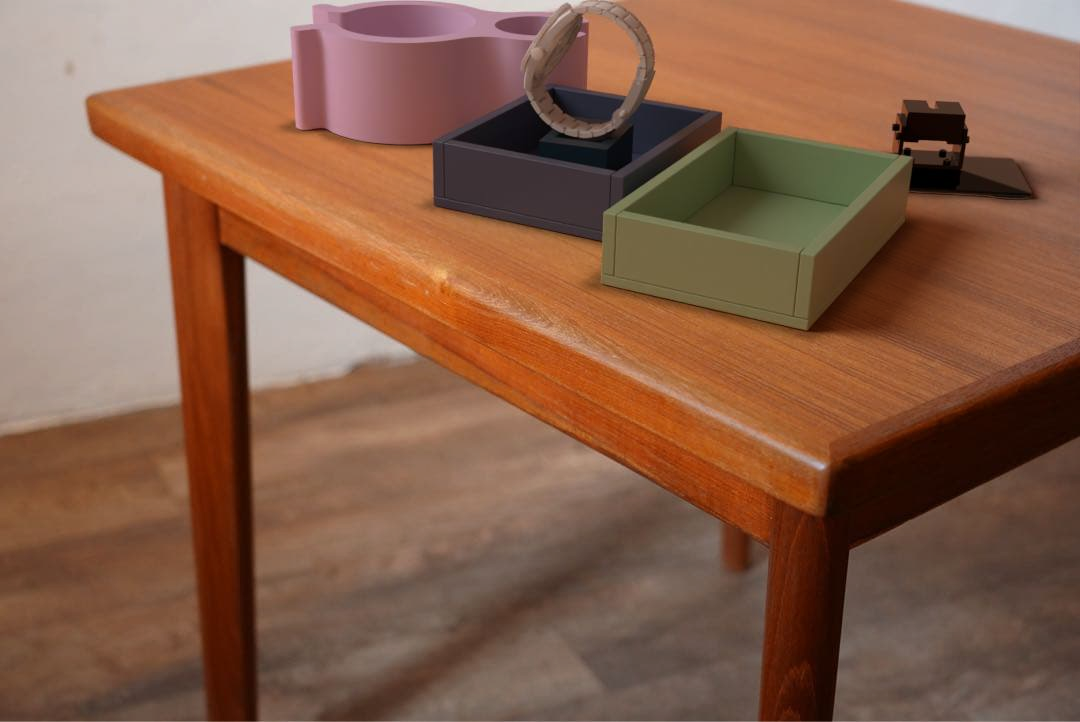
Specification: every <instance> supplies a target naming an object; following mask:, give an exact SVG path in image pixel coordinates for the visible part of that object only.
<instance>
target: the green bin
mask: <svg viewBox="0 0 1080 722" xmlns="http://www.w3.org/2000/svg"><path fill="white" fill-rule="evenodd" d="M880 151H881V150H880ZM880 151H879V150H875V149H874V150H873V149H868V148H861V147H857V146H856V147H855V146H851V145H850V146H849V145H844V144H838V143H834V142H833V143H832V142H826V141H820V140H813V139H809V138H803V137H797V136H790V135H785V134H779V133H773V132H769V131H768V132H767V131H761V130H756V129H750V128H743V127H737V126H732V125H728V126H726V127H725V128H724V129H721V132H719V133H718V134H717V135H715V136H714V137H712V138H711V139H709V140H708V141H706V142H705V143H704V144H702V145H701V146H699V147H698V148H696V149H695V150H693V151H692V152H690V153H689V154H688V155H686V156H685V157H683V158H682V159H680V160H679V161H677V162H676V163H675V164H673V165H672V166H670V167H669V168H667V169H666V170H664V171H663V172H661V173H660V174H659V175H657V176H656V177H654V178H653V179H651V180H650V181H648V182H647V183H645V184H644V185H643V186H641V187H640V188H638V189H637V190H635V191H634V192H632V193H631V194H630V195H628V196H627V197H625V198H624V199H622V200H621V201H619V202H618V203H616V204H615V205H614V206H612V207H611V208H609V209H608V210H606V211H605V212H604V213H603V238H602V241H601V264H600V265H601V266H600V267H601V269H600V273H601V274H600V284H601V285H605V286H608V287H612V288H613V287H614V288H619V289H622V290H627V291H632V292H635V293H640V294H644V295H648V296H654V297H658V298H663V299H666V300H671V301H675V302H679V303H684V304H689V305H692V306H696V307H701V308H706V309H710V310H714V311H719V312H723V313H727V314H732V315H737V316H740V317H745V318H749V319H754V320H758V321H762V322H766V323H772V324H775V325H780V326H783V327H784V326H785V327H789V328H792V329H793V328H794V329H797V330H801V331H808V330H809V329H811V327H812V326H813V325H814V324H815V323H816V322H817V320H818V319H819V318H820V317H821V316H822V315H823V314H824V313H825V312H826V311H827V309H828V308H829V307H830V306H831V305H832V304H833V302H835V301H836V300H837V298H838V297H839V296H840V295H841V294H842V293H843V291H845V290H846V288H847V287H848V286H849V285H850V284H851V283H852V281H854V279H855V278H856V277H858V275H859V274H860V272H862V270H863V269H864V268H865V267H866V266H867V265H868V264H869V262H870V261H871V260H872V259H873V258H874V257H875V256H876V255H877V254H878V252H879V251H880V250H881V249H882V248H883V247H884V246H885V245H886V243H887V242H888V241H889V240H890V239H891V238H892V237H893V236H894V235H895V233H896V232H897V231H898V230H899V229H900V228H901V227H902V226H903V224H904V223H905V222H906V212H907V207H908V199H909V193H910V192H909V186H910V179H911V172H912V164H913V157H909V156H903V155H897V154H891V153H886V152H887V151H883V152H880Z"/></svg>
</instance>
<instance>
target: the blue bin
mask: <svg viewBox="0 0 1080 722" xmlns="http://www.w3.org/2000/svg"><path fill="white" fill-rule="evenodd" d="M545 86H546V90H545V91H547V92H548V93H549V95H550V97H551V98H552V100H553V103H552V104H556V105H557V106H558V107H559V108H560V109H561V110H562V111H563V114H564V113H565V114H567V115H569V116H572V117H580V118H588V119H597V120H605V121H611V119H612V118H613V117H612V115H613V113H614V112H615V111H616V110H617V109H619V108H620V107H621V106H622V104H623V102H624V101H625V99H626V97H627V95H622V94H616V93H611V92H606V91H605V92H603V91H600V90H599V91H598V90H592V89H588V88H587V89H581V88H575V87H569V86H563V85H557V84H551V83H548V84H546V85H545ZM541 100H542V99H541ZM541 100H540V101H541ZM540 101H539V102H540ZM551 112H552V111H551ZM551 112H550V113H551ZM540 114H541V113H540ZM540 114H537V112H536V111H535V110H534V108H533V106H532V105H531V101H530V100H529V98H528V96H527V94H526V95H524V96H522V97H520V98H518V99H516V100H514V101H512V102H510V103H508V104H506V105H504V106H502V107H500V108H498V109H496V110H494V111H491V112H489V113H487V114H485V115H483V116H481V117H479V118H477V119H475V120H473V121H471V122H469V123H467V124H465V125H463V126H461V127H459V128H457V129H455V130H453V131H451V132H449V133H447V134H445V135H443V136H441V137H439V138H437V139H435V140H433V143H432V174H433V175H432V183H433V185H432V189H433V191H432V192H433V194H432V195H433V206H435V207H441V208H445V209H450V210H455V211H459V212H464V213H468V214H473V215H477V216H482V217H487V218H492V219H497V220H501V221H505V222H510V223H516V224H518V225H519V224H520V225H525V226H528V227H534V228H539V229H542V230H543V229H544V230H548V231H551V232H557V233H562V234H565V235H566V234H567V235H571V236H576V237H580V238H585V239H590V240H595V241H600V242H602V238H603V213H604V212H605V211H606V210H608V209H609V208H611V207H612V206H614V205H615V204H616V203H618V202H619V201H621V200H622V199H624V198H625V197H627V196H628V195H630V194H631V193H632V192H634V191H635V190H637V189H638V188H640V187H641V186H643V185H644V184H645V183H647V182H648V181H650V180H651V179H653V178H654V177H656V176H657V175H659V174H660V173H661V172H663V171H664V170H666V169H667V168H669V167H670V166H672V165H673V164H675V163H676V162H677V161H679V160H680V159H682V158H683V157H685V156H686V155H688V154H689V153H690V152H692V151H693V150H695V149H696V148H698V147H699V146H701V145H702V144H704V143H705V142H706V141H708V140H709V139H711V138H712V137H714V136H715V135H717V134H718V133H719V132H721V131H722V122H723V112H722V111H718V110H713V109H712V110H711V109H707V108H701V107H695V106H688V105H682V104H676V103H671V102H665V101H659V100H651V99H647V98H644V99H643V101H642V103H641V104H640V106H639V107H638V108H637V110H636V111H635V112H634V113H633V115H632V116H631V117H630V118H629V119H628V120H627V121H626V122H625V123H629V124H634V127H633V149H632V162H631V163H630V164H628V165H626V166H625V167H623V168H622V169H620V170H619V171H617V172H616V171H613V170H608V169H602V168H597V167H592V166H587V165H581V164H576V163H571V162H566V161H560V160H555V159H550V158H545V157H539V140H541V139H542V138H543V137H544V136H545V135H547V134H548V133H549V132H550V131H551V130H553V128H552V127H551V125H548V124H547V123H546V122H544V121H543V120H542V119H541V117H540V116H539V115H540ZM548 114H549V113H548ZM563 114H562V115H563Z"/></svg>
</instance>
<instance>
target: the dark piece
mask: <svg viewBox="0 0 1080 722" xmlns="http://www.w3.org/2000/svg"><path fill="white" fill-rule="evenodd" d="M895 115H896V116H895V122H894V123H892V124H891V131H892V132H893V138H892V146H891V151H885V152H886V153H891V154H897V155H903V156H909V157H913V164H912V172H911V179H910V186H909V193H920V194H921V193H922V194H923V193H924V194H943V195H959V196H960V195H961V196H981V197H982V196H983V197H990V198H995V199H1008V200H1025V199H1032V196H1033V191H1032V190H1031V188H1030V186H1029V184H1028V182H1027V181H1026V179H1025V177H1024V175H1023V173H1022V172H1021V170H1020V168H1019V166H1018V165H1017V162H1016V161H1015V159H1014V158H1012V157H998V156H980V155H977V156H976V155H965V153H966V148H967V144H969V143H970V141H971V140H970V139H971V138H970V135H968V134H969V128H968V125H967V124H966V118H967V115H966V113H965V111H964V109H963V107H962V105H961V103H960V102H959V101H945V100H935V102H934V108H932V107H930V105H929V103H928V100H926V99H925V100H923V99H921V100H920V99H902V103H901V111H900V113H899V112H896V114H895ZM919 141H929V142H930V141H931V142H945V144H946V145H952V149H951V151H948V150H947V149H944V148H940V149H939V150H929V149H926V150H925V149H912V147H909V146H907V147H906V146H905V147H904V144H905V143H911V144H913V143H915V144H919ZM880 152H884V151H883V150H882V151H881V150H880Z"/></svg>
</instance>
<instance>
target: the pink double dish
mask: <svg viewBox="0 0 1080 722" xmlns="http://www.w3.org/2000/svg"><path fill="white" fill-rule="evenodd" d="M311 9H312V10H311V11H312V23H309V24H299V25H293V26H290V27H289V32H290V33H289V34H290V50H291V51H290V53H291V66H292V67H291V68H292V83H293V84H292V85H293V99H294V101H293V102H294V116H295V128H296V129H298V130H301V131H309V130H315V129H326V130H328V131H329V132H331V133H333V134H335V135H338V136H340V137H344V138H347V139H351V140H355V141H360V142H366V143H373V144H383V145H385V144H386V145H428V144H429V145H430V144H433V140H435V139H437V138H439V137H441V136H443V135H445V134H447V133H449V132H451V131H453V130H455V129H457V128H459V127H461V126H463V125H465V124H467V123H469V122H471V121H473V120H475V119H477V118H479V117H481V116H483V115H485V114H487V113H489V112H491V111H494V110H496V109H498V108H500V107H502V106H504V105H506V104H508V103H510V102H512V101H514V100H516V99H518V98H520V97H522V96H524V95H526V94H527V93H526V90H525V89H524V78H525V73H523V72H522V71H521V70H520V68H521V64H522V61H523V58H524V56H525V54H526V52H527V50H528V49H529V47H530V45H531V44H532V42H533V40H534V39H535V37H536V36H537V34H538V33H539V31H540V30H541V28H542V27H543V26H544V24H545V23H546V22H547V21H548V19H549V18H550V17H551V16H552V14H553V13H554V12H553V11H552V12H550V11H493V10H485V9H480V8H477V7H473V6H469V5H466V4H465V5H464V4H458V3H454V2H453V3H452V2H444V1H433V0H379V1H368V2H359V3H354V4H353V3H352V4H348V5H342V6H341V5H340V6H339V5H333V4H328V3H318V4H313V5H311ZM589 35H590V20H589V19H587V18H584V17H583V21H582V26H581V29H580V31H579V33H578V35H577V37H576V39H575V40H574V42H573V44H572V45H571V47H570V48H569V50H568V51H567V53H566V54H565V56H564V57H563V58H562V60H561V61H560V62H559V64H558V65H557V66H556V67H555V68H554V70H553V71H552V72H551V73H550V74H549V77H548V78H547V80H546V81H544V84H545V85H546V84H548V83H551V84H557V85H563V86H569V87H575V88H581V89H587V90H588V69H589V67H588V66H589Z"/></svg>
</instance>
